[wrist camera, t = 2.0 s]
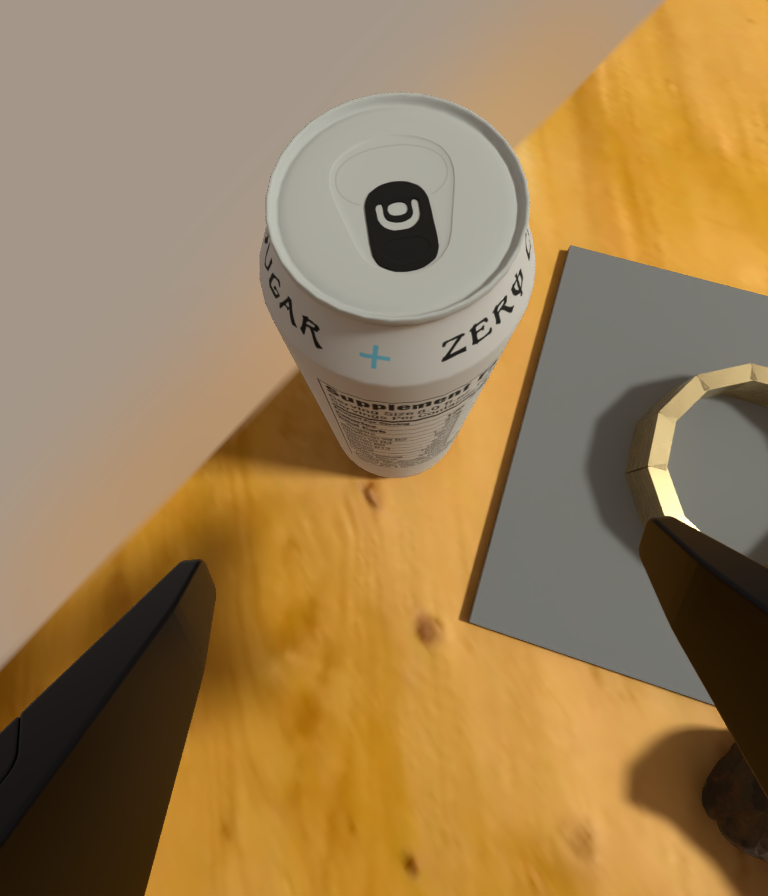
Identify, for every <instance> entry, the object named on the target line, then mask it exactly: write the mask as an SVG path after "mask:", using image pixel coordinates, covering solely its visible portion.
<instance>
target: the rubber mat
mask: <svg viewBox="0 0 768 896" xmlns="http://www.w3.org/2000/svg"><path fill="white" fill-rule="evenodd" d="M750 363H751V364H752V363H753V364H757V365H760V366H764V367H768V296H765V295H761V294H757V293H753V292H749V291H745V290H741V289H738V288H734V287H730V286H726V285H722V284H718V283H714V282H711V281H707V280H703V279H699V278H695V277H691V276H687V275H683V274H680V273H676V272H672V271H668V270H664V269H660V268H656V267H653V266H649V265H645V264H641V263H637V262H633V261H629V260H626V259H622V258H618V257H614V256H610V255H606V254H602V253H599V252H595V251H591V250H587V249H583V248H579V247H575V246H572V245H570V247H569V249H568V251H567V255H566V259H565V262H564V266H563V270H562V274H561V277H560V281H559V285H558V288H557V292H556V296H555V300H554V303H553V307H552V311H551V314H550V318H549V322H548V326H547V329H546V333H545V337H544V341H543V344H542V348H541V352H540V355H539V359H538V363H537V367H536V370H535V374H534V378H533V381H532V385H531V389H530V393H529V396H528V400H527V404H526V408H525V411H524V415H523V419H522V422H521V426H520V430H519V434H518V437H517V441H516V445H515V448H514V452H513V456H512V460H511V463H510V467H509V471H508V474H507V478H506V482H505V486H504V489H503V493H502V497H501V501H500V504H499V508H498V512H497V515H496V519H495V523H494V527H493V530H492V534H491V538H490V541H489V545H488V549H487V553H486V556H485V560H484V564H483V568H482V571H481V575H480V579H479V582H478V586H477V590H476V594H475V597H474V601H473V605H472V608H471V612H470V616H469V620H468V621H469V622H470V623H473V624H476V625H479V626H482V627H485V628H488V629H491V630H494V631H497V632H500V633H503V634H506V635H509V636H512V637H515V638H517V639H520V640H523V641H526V642H529V643H532V644H535V645H538V646H541V647H544V648H547V649H550V650H553V651H556V652H559V653H562V654H565V655H568V656H571V657H574V658H576V659H579V660H582V661H585V662H588V663H591V664H594V665H597V666H600V667H603V668H606V669H609V670H612V671H615V672H618V673H621V674H624V675H627V676H630V677H633V678H635V679H638V680H641V681H644V682H647V683H650V684H653V685H656V686H659V687H662V688H665V689H668V690H671V691H674V692H677V693H680V694H683V695H686V696H689V697H692V698H695V699H697V700H700V701H703V702H706V703H709V704H712V705H714V703H713V701H712V700H711V698H710V696H709V694H708V693H707V691H706V689H705V687H704V685H703V684H702V682H701V680H700V678H699V677H698V675H697V673H696V671H695V670H694V668H693V666H692V664H691V663H690V661H689V659H688V657H687V656H686V654H685V652H684V650H683V649H682V647H681V645H680V643H679V642H678V640H677V638H676V636H675V634H674V632H673V631H672V629H671V627H670V625H669V623H668V620H667V618H666V616H665V614H664V612H663V609H662V607H661V605H660V603H659V600H658V598H657V596H656V593H655V591H654V589H653V587H652V584H651V582H650V580H649V577H648V575H647V573H646V571H645V568H644V566H643V564H642V561H641V559H640V556H639V544H640V540H641V537H642V534H643V531H644V527H645V526H643V527H642V524H641V521H640V518H639V515H638V512H637V509H636V506H635V503H634V500H633V497H632V494H631V491H630V488H629V485H628V482H627V479H626V476H625V474H627V473H625V471H626V466H627V461H628V457H629V452H630V448H631V443H632V438H633V434H634V429H635V425H636V423H637V422H638V421H639V420H640V419H641V418H642V417H643V416H644V415H645V414H646V413H647V412H648V411H649V410H650V409H651V408H652V407H653V406H654V405H656V404H657V403H658V402H659V401H660V400H661V399H662V398H663V397H664V396H665V395H666V394H667V393H668V392H669V391H670V390H672V389H673V388H675V387H677V386H679V385H680V384H682V383H684V382H686V381H687V380H689V379H691V378H693V377H694V376H696V375H699V374H703V373H708V372H712V371H717V370H722V369H726V368H731V367H736V366H740V365H745V364H750ZM667 468H668V471H669V474H670V477H671V480H672V482H673V485H674V488H675V491H676V494H677V496H678V499H679V502H680V505H681V508H682V511H683V513H684V516H685V517H686V518H687V519H688V520H689V521H690V522H691V523H692V524H693V525H694V526H695V527H696V528H697V529H699V530H700V531H701V532H702V533H704V534H706V535H708V536H710V537H711V538H713V539H715V540H717V541H719V542H721V543H723V544H724V545H726V546H728V547H730V548H732V549H734V550H735V551H737V552H739V553H741V554H743V555H745V556H747V557H748V558H750V559H752V560H754V561H756V562H758V563H760V564H761V565H763V564H767V563H768V408H767V407H764V406H760V405H757V404H753V403H749V402H746V401H742V400H739V399H735V398H732V397H728V396H724V395H720V396H715V397H711V398H706V399H702V400H697V401H696V402H695V403H694V404H693V405H692V406H691V407H690V408H689V409H688V410H687V411H686V412H685V413H684V414H683V415H682V416H681V417H680V418H679V419H678V420H677V421H676V425H675V430H674V435H673V440H672V445H671V450H670V455H669V460H668V465H667Z"/></svg>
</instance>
